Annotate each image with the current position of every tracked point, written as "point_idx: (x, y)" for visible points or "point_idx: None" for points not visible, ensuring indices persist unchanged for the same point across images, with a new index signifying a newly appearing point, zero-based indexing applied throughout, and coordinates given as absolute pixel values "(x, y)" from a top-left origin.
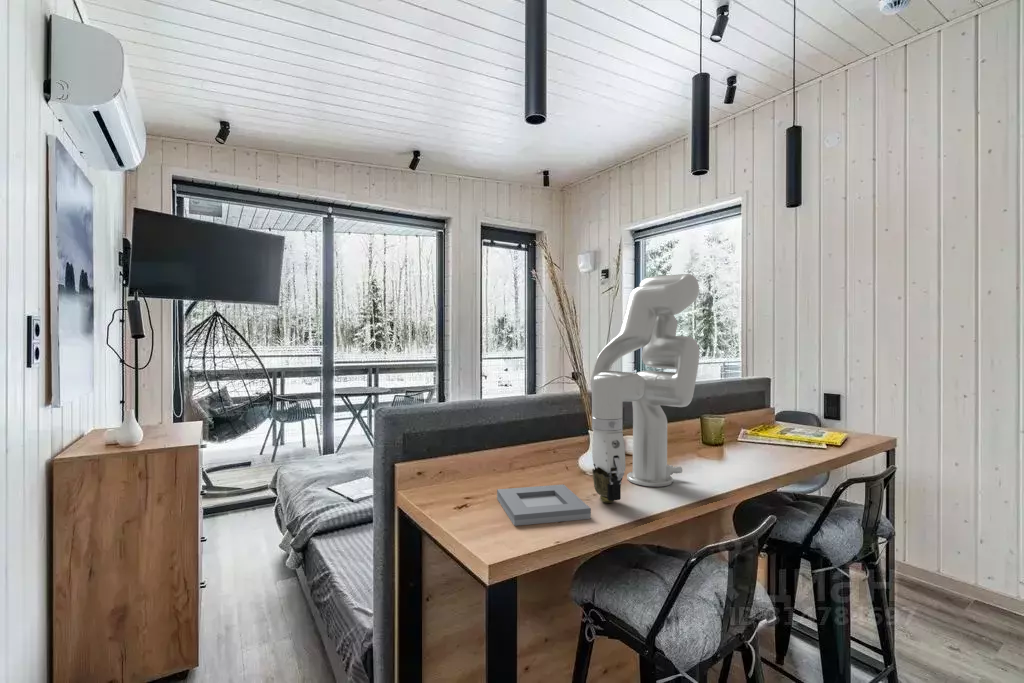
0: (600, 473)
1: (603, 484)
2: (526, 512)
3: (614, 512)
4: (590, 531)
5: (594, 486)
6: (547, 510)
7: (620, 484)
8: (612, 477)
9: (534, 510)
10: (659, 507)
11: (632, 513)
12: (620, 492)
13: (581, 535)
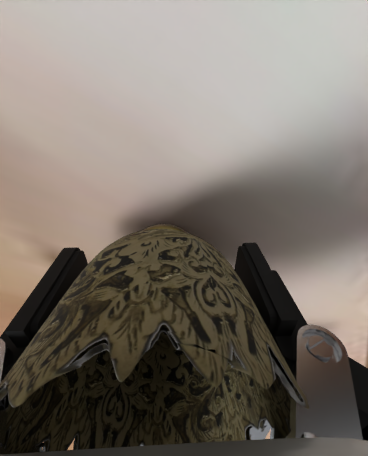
0: (50, 380)
1: (229, 371)
2: (256, 439)
3: (281, 260)
4: (358, 348)
5: (149, 349)
6: (265, 421)
7: (293, 312)
8: (289, 411)
9: (252, 432)
10: None
11: (330, 201)
12: (269, 267)
13: (362, 363)
